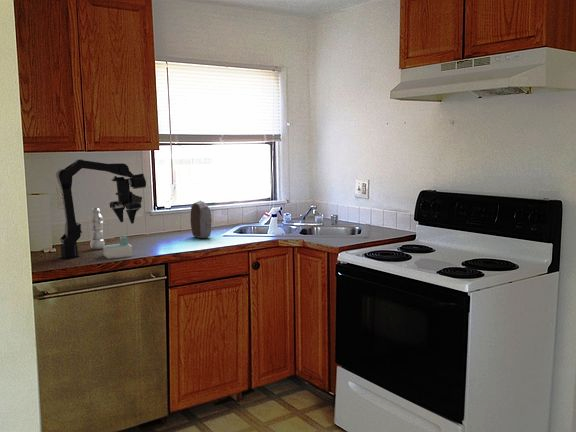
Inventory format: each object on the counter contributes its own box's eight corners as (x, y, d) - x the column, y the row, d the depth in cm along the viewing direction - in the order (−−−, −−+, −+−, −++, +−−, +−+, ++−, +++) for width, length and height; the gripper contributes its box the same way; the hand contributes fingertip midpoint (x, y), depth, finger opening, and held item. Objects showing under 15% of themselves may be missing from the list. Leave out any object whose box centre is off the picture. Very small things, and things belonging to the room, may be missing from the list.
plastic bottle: (88, 249, 269) (85, 208, 267) (101, 247, 274) (99, 207, 271) (94, 251, 265) (91, 209, 262) (107, 249, 269) (105, 208, 267)
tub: (107, 258, 245) (107, 248, 245) (103, 255, 253) (103, 245, 253) (132, 255, 251) (132, 245, 250) (128, 252, 258) (127, 243, 258)
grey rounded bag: (189, 236, 303) (188, 200, 300) (203, 235, 308) (201, 199, 305) (202, 240, 291) (201, 202, 288) (216, 238, 296) (215, 201, 293)
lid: (108, 249, 246) (108, 239, 246) (105, 246, 252) (105, 237, 252) (129, 247, 250) (129, 237, 250) (126, 244, 257) (125, 235, 256)
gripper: (149, 188, 259) (152, 221, 261) (128, 187, 272) (131, 218, 274) (128, 191, 251) (132, 225, 253) (107, 190, 264) (111, 222, 266)
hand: (127, 222), depth 262 cm, fingers open, 9 cm apart
